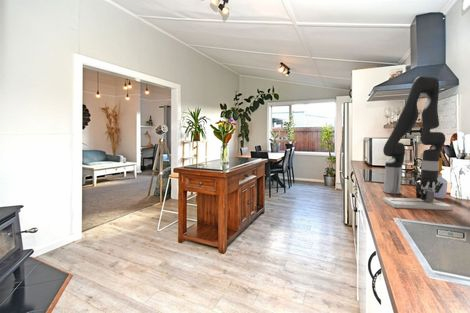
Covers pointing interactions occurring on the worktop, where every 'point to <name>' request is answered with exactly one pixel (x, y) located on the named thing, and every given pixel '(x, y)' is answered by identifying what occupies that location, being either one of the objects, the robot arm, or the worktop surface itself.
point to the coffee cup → (418, 194)
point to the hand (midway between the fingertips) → (427, 199)
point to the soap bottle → (444, 187)
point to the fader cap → (429, 196)
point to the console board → (416, 203)
